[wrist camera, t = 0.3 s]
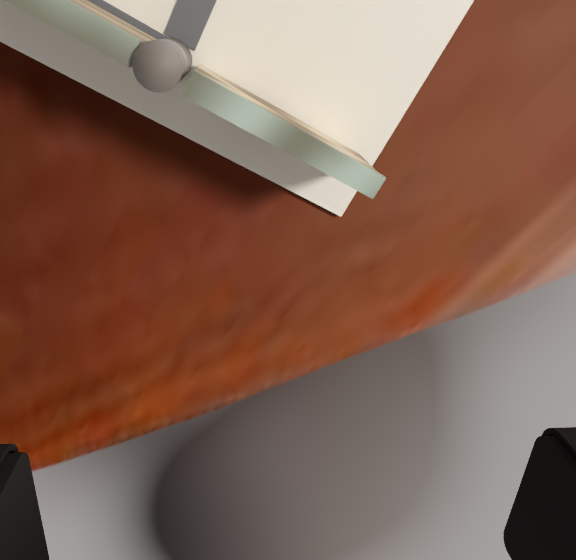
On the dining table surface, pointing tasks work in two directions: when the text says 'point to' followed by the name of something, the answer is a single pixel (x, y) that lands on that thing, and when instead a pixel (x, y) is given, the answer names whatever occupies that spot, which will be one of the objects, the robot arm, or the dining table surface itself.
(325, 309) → the dining table surface
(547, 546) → the robot arm
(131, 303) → the dining table surface
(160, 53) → the fence base
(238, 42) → the card
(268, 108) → the fence panel
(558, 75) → the dining table surface
